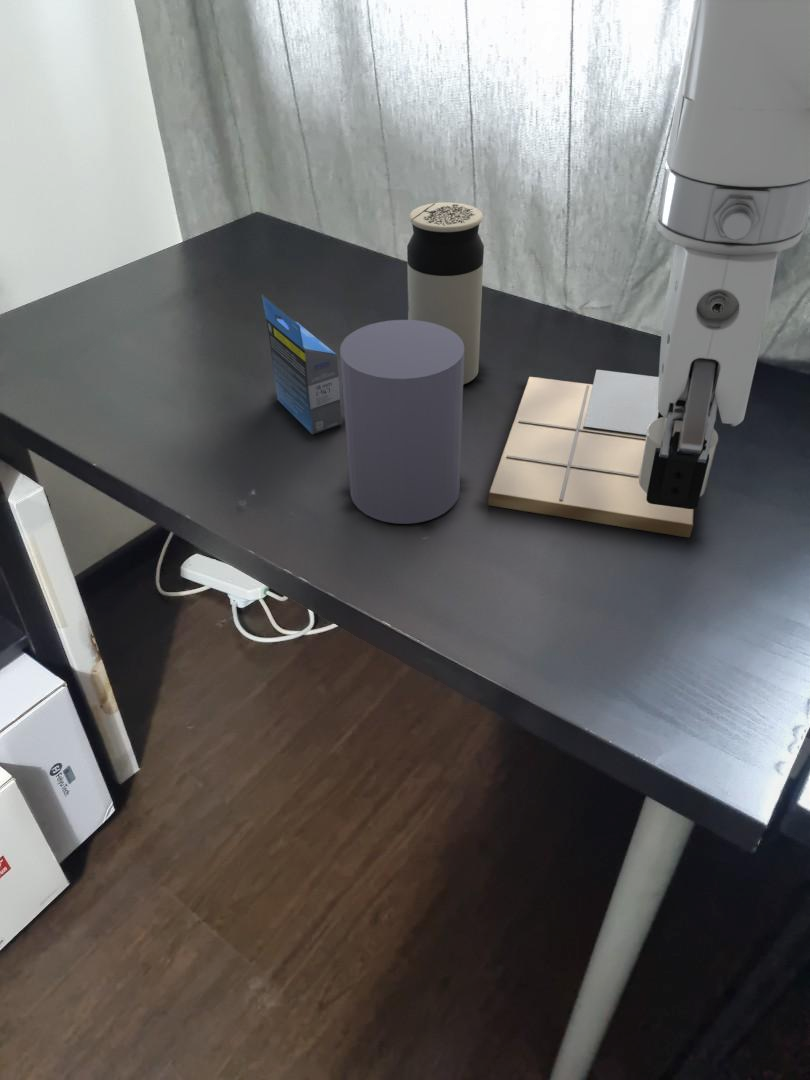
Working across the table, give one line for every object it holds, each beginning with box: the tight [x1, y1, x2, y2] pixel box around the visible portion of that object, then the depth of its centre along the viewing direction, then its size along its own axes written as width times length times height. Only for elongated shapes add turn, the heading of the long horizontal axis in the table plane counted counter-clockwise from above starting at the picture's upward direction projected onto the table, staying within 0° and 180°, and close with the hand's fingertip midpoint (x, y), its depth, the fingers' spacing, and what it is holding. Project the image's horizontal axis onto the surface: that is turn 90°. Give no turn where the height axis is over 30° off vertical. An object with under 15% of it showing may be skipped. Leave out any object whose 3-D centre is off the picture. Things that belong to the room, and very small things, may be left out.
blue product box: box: [261, 294, 343, 435], centre depth 85 cm, size 9×4×12 cm, turn 32°
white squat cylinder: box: [639, 417, 719, 498], centre depth 54 cm, size 4×4×4 cm
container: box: [339, 319, 464, 525], centre depth 73 cm, size 10×10×15 cm
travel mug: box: [406, 201, 485, 385], centre depth 89 cm, size 8×8×18 cm
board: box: [487, 369, 695, 538], centre depth 83 cm, size 18×25×2 cm
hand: (673, 478), depth 56 cm, fingers closed on white squat cylinder, 4 cm apart
